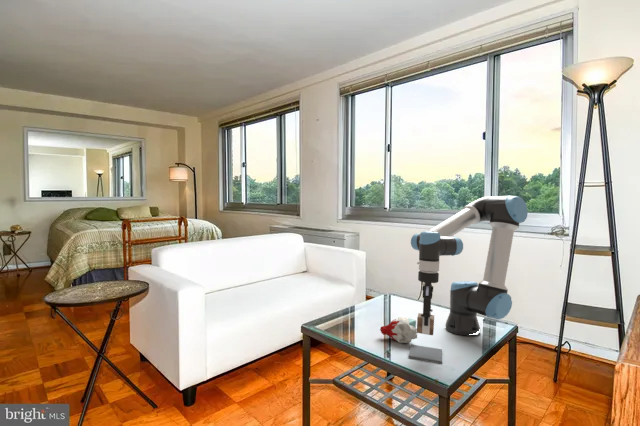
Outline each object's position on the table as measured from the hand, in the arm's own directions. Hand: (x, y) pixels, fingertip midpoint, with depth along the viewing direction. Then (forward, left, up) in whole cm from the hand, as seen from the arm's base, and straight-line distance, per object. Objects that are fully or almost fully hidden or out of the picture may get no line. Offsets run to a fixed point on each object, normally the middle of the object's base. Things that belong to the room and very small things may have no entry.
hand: (426, 330), depth 134 cm
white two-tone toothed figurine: (+12, -11, -10) cm, 19 cm away
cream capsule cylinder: (+11, -22, -9) cm, 26 cm away
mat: (0, 0, -9) cm, 9 cm away
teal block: (+9, -28, -9) cm, 31 cm away
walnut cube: (0, 0, 0) cm, 0 cm away
